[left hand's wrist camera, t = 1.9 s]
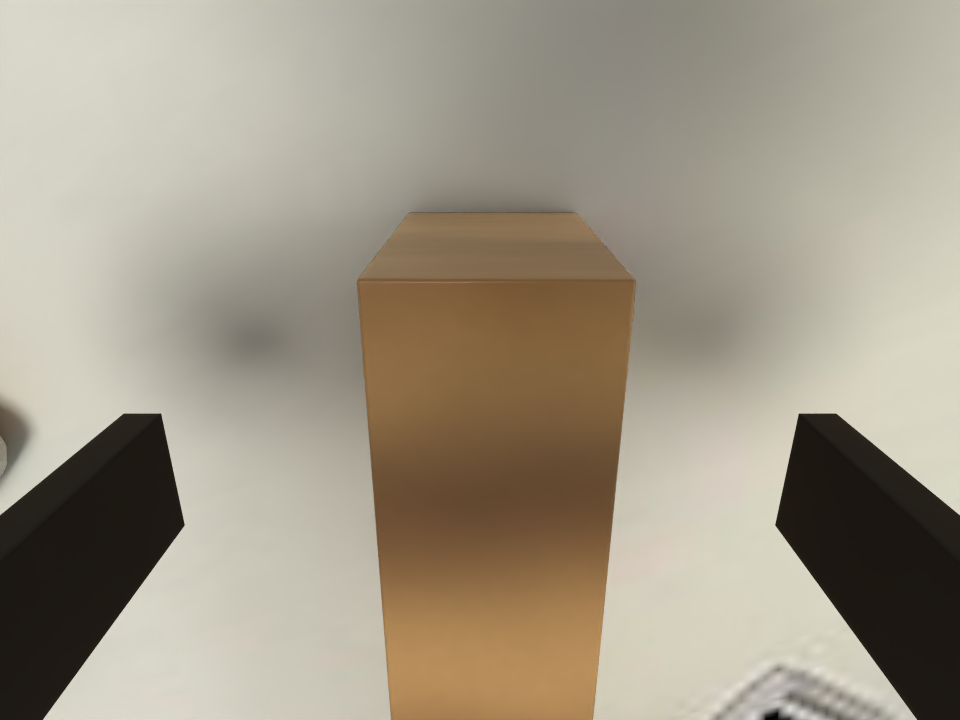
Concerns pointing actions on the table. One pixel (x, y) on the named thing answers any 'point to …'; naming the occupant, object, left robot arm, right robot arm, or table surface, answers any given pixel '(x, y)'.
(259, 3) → the table surface
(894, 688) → the left robot arm
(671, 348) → the table surface
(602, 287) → the bar
